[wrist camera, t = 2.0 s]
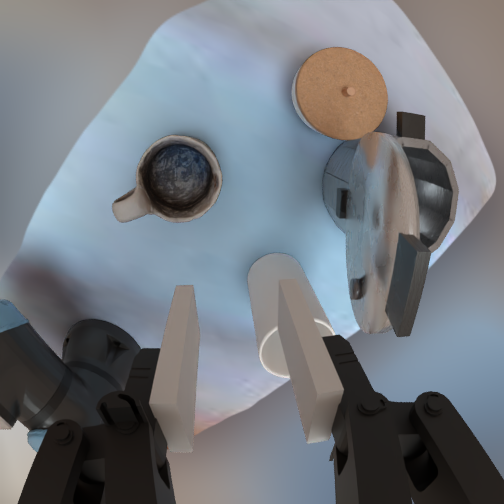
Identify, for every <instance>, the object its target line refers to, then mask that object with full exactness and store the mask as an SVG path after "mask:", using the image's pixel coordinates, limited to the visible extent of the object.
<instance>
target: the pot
mask: <svg viewBox="0 0 504 504" xmlns="http://www.w3.org/2000/svg"><path fill="white" fill-rule="evenodd" d="M391 136H392V137H394V138H395V139H396V140H397V142H398V143H399V144H400V146H401V147H402V149H403V151H404V152H405V155H406V157H407V159H408V161H409V164H410V167H411V170H412V174H413V177H414V182H415V186H416V191H417V198H418V205H419V219H420V241H421V242H422V243H423V244H424V245H425V246H426V247H427V248H428V249H429V250H430V251H431V253H432V252H434V251H435V250H436V249H438V247H440V245H441V243H442V242H443V240H444V238H445V237H446V235H447V233H448V232H449V230H450V228H451V227H452V225H453V223H454V221H455V215H456V208H457V201H458V193H459V191H458V190H459V189H458V185H457V181H456V178H455V174H454V171H453V168H452V164H451V161H450V160H449V159H448V158H447V157H446V156H445V155H444V154H443V153H442V152H441V151H440V150H439V149H438V148H437V147H436V146H435V145H434V144H433V143H432V142H431V141H429V140H425V116H424V115H418V114H413V113H407V112H397V136H394V135H391ZM360 140H361V138H360V139H356V140H347V141H345V142H344V143H343V144H341V145H340V146H339V147H338V148H337V149H336V151H335V152H334V153H333V155H332V156H331V158H330V159H329V161H328V163H327V166H326V169H325V172H324V176H323V185H322V186H323V197H324V202H325V205H326V208H327V210H328V212H329V214H330V215H331V217H332V218H333V220H334V221H335V223H336V225H337V226H338V227H339V228H340V229H341V230H342V231H343V232H344V233H345V234H346V209H347V196H348V186H349V178H350V172H351V167H352V162H353V158H354V154H355V151H356V148H357V146H358V144H359V142H360Z"/></svg>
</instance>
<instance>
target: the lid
mask: <svg viewBox="0 0 504 504" xmlns="http://www.w3.org/2000/svg"><path fill="white" fill-rule="evenodd" d="M430 256H431V251H430V250H429V249H428V248H427V247H426V246H425V245H424V244H423V243H422V242H421V241H420V219H419V205H418V198H417V191H416V186H415V182H414V177H413V174H412V170H411V167H410V164H409V161H408V159H407V157H406V155H405V152H404V151H403V149H402V147H401V146H400V144H399V143H398V142H397V140H396V139H395V138H394V137H392V136H391V135H390V134H386V133H379V132H368V133H366V134H365V135H364V136H363V137H362V138H361V140H360V142H359V144H358V146H357V148H356V151H355V154H354V158H353V162H352V167H351V172H350V178H349V186H348V196H347V209H346V265H347V278H348V287H349V294H350V300H351V305H352V309H353V312H354V316H355V319H356V321H357V323H358V325H359V327H360V328H361V329H362V331H364V332H365V333H367V334H379V333H386V332H388V331H389V330H391V329H392V328H393V329H394V332H395V334H396V336H397V337H404V336H410V334H411V330H412V327H413V324H414V320H415V317H416V313H417V310H418V306H419V302H420V299H421V295H422V291H423V287H424V283H425V278H426V274H427V270H428V265H429V260H430Z"/></svg>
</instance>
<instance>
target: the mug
mask: <svg viewBox="0 0 504 504" xmlns="http://www.w3.org/2000/svg"><path fill="white" fill-rule="evenodd" d="M136 183H137V186H136V187H135V188H134V189H133V190H131V191H130V192H128V193H126V194H125V195H123V196H122V197H120V198H118V199H117V200H115V201H114V203H113V204H112V210H113V213H114V216H115V217H116V219H117V220H118V221H119V222H122V223H124V222H129V221H132V220H134V219H137V218H140V217H142V216H144V215H146V214H150V215H152V214H155V215H157V216H158V217H160V218H162V219H164V220H166V221H170V222H175V223H181V222H189V221H191V220H193V219H197V218H199V217H201V216H203V215H204V214H205V213H206V212H207V211H208V210H209V209H210V208H211V207H212V206H213V205H214V203H215V202H216V200H217V198H218V196H219V193H220V190H221V186H222V173H221V169H220V166H219V163H218V160H217V158H216V156H215V154H214V152H213V151H212V150H211V148H210V147H209V146H208V145H207V144H205V143H204V142H203V141H201V140H199V139H196V138H193V137H187V136H178V135H169V136H166V137H163V138H161V139H159V140H158V141H156V142H155V143H153V144H152V145H151V146H150V147H149V148H148V149H147V150H146V151H145V153H144V154H143V156H142V158H141V160H140V162H139V164H138V167H137V172H136Z"/></svg>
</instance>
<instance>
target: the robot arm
mask: <svg viewBox="0 0 504 504" xmlns="http://www.w3.org/2000/svg"><path fill="white" fill-rule="evenodd" d="M278 332H279V336H280V340H281V344H282V348H283V351H284V355H285V359H286V363H287V367H288V371H289V375H290V379H291V382H292V386H293V390H294V394H295V398H296V402H297V406H298V410H299V413H300V418H301V421H302V425H303V429H304V433H305V437H306V441H307V444H308V443H315V442H320V441H326V440H329V439H330V436H331V433H332V434H333V437H334V440H335V444H334V447H333V450H332V452H331V455H330V460H329V461H333V458H334V473H335V493H336V504H412V500H413V502H414V504H504V480H503V478H502V476H501V475H500V473H499V472H498V470H497V469H496V467H495V465H494V464H493V462H492V461H491V459H490V458H489V456H488V455H487V453H486V452H485V450H484V449H483V447H482V446H481V444H480V443H479V441H478V440H477V439H476V437H475V436H474V435H473V433H472V431H471V430H470V428H469V427H468V426H467V424H466V423H465V421H464V420H463V418H462V417H461V416H460V414H459V413H458V412H457V410H456V409H455V407H454V406H453V405H452V403H451V402H450V401H449V399H447V398H446V397H445V396H444V395H442V394H440V393H438V392H432V391H430V392H425V393H423V394H421V395H419V396H418V398H417V399H416V401H415V402H391V401H388V399H387V398H386V397H384V396H383V395H382V394H380V393H378V392H375V391H374V390H373V388H372V386H371V384H370V382H369V380H368V378H367V376H366V374H365V372H364V370H363V369H362V367H361V365H360V363H359V362H358V359H357V357H356V355H355V354H354V351H353V349H352V347H351V345H350V343H349V342H348V341H347V340H345V339H344V338H343V337H342V336H340V335H333V336H325V337H321V334H320V332H319V330H318V328H317V325H316V323H315V321H314V318H313V316H312V314H311V312H310V309H309V307H308V305H307V303H306V300H305V298H304V296H303V294H302V291H301V289H300V287H299V285H298V282H297V280H296V279H282V280H279V296H278ZM199 343H200V330H199V323H198V316H197V309H196V302H195V294H194V287H193V285H180V286H176V288H175V292H174V296H173V300H172V304H171V308H170V312H169V316H168V320H167V324H166V328H165V332H164V337H163V341H162V345H161V348H142V349H140V347H139V346H138V344H137V343H136V342H135V341H134V340H133V338H132V337H131V336H129V335H128V334H127V333H126V332H125V331H123V330H122V329H120V328H118V327H117V326H115V325H112V324H110V323H107V322H104V321H100V320H83V321H80V322H78V323H76V324H75V325H73V326H72V327H71V329H70V330H69V332H68V334H67V335H66V337H65V340H64V344H63V352H62V360H61V359H60V358H59V357H58V356H57V355H56V354H55V352H54V351H53V350H52V349H51V348H50V347H49V346H48V345H47V344H46V343H45V341H44V340H43V339H42V338H41V337H40V336H39V335H38V333H37V332H36V331H35V330H34V328H33V327H32V326H31V325H30V323H29V321H28V319H25V318H24V316H23V315H22V314H21V313H20V312H19V311H18V310H17V308H16V307H15V306H14V305H13V304H12V303H11V302H10V301H8V300H0V429H11V428H12V427H13V426H14V424H15V423H16V421H17V420H19V421H20V422H21V423H22V424H23V425H24V426H26V427H27V428H28V429H29V430H30V431H29V432H28V434H27V436H28V443H29V444H30V446H31V447H32V448H33V449H34V450H35V451H36V452H37V455H36V457H35V459H34V462H33V464H32V467H31V469H30V472H29V474H28V477H27V479H26V482H25V485H24V487H23V490H22V493H21V496H20V499H19V501H18V504H176V501H175V496H174V490H173V485H172V479H171V472H170V466H169V462H168V460H167V457H166V451H167V446H168V448H169V450H170V452H193V440H194V419H195V400H196V384H197V369H198V356H199ZM411 497H412V500H411Z"/></svg>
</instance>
